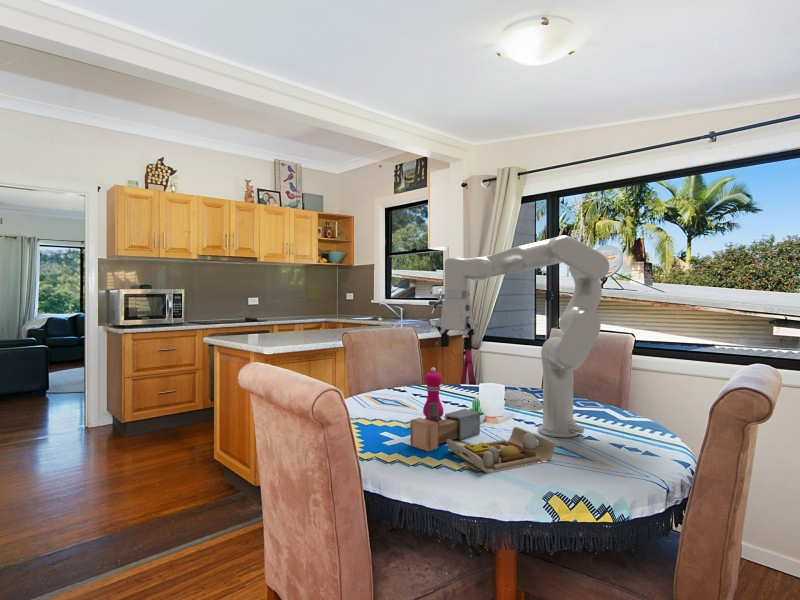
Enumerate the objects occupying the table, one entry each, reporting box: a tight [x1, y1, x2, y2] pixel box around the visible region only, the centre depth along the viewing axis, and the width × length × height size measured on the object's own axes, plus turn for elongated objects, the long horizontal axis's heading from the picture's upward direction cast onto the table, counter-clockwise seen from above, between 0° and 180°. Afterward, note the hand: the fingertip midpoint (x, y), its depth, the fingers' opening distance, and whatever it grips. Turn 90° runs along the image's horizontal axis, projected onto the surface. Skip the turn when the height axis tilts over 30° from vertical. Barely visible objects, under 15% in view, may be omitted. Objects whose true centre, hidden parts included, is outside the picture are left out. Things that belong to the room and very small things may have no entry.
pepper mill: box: [422, 367, 445, 421], centre depth 167 cm, size 7×7×20 cm
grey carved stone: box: [504, 389, 543, 412], centre depth 196 cm, size 16×25×7 cm, turn 35°
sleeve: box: [444, 408, 481, 441], centre depth 155 cm, size 6×10×7 cm, turn 133°
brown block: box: [410, 417, 439, 452], centre depth 143 cm, size 8×4×8 cm, turn 43°
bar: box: [429, 403, 458, 445], centre depth 148 cm, size 4×16×12 cm, turn 133°
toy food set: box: [445, 426, 556, 474], centre depth 134 cm, size 25×18×8 cm
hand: (456, 348), depth 155 cm, fingers open, 9 cm apart
